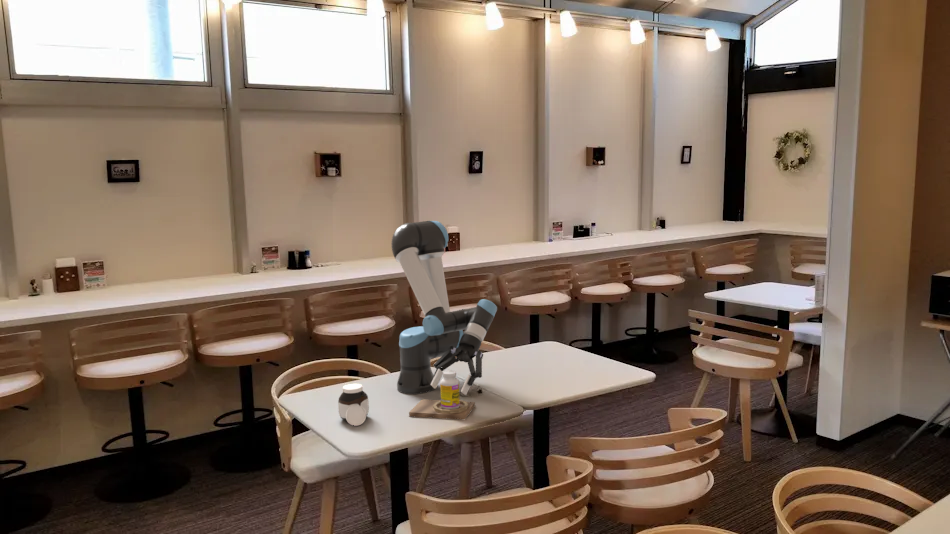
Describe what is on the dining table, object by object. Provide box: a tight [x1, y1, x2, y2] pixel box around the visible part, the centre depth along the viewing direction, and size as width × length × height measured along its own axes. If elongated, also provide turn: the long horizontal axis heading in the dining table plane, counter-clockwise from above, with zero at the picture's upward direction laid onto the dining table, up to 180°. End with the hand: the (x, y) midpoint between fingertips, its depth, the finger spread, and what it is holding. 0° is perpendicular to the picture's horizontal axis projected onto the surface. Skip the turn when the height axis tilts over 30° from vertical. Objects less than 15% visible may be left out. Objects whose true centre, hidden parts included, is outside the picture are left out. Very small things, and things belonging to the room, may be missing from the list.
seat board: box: [408, 398, 476, 420], centre depth 257 cm, size 20×14×2 cm
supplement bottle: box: [439, 369, 461, 410], centre depth 256 cm, size 7×7×13 cm
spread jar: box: [337, 383, 370, 427], centre depth 250 cm, size 12×11×12 cm
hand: (447, 389), depth 254 cm, fingers open, 13 cm apart
